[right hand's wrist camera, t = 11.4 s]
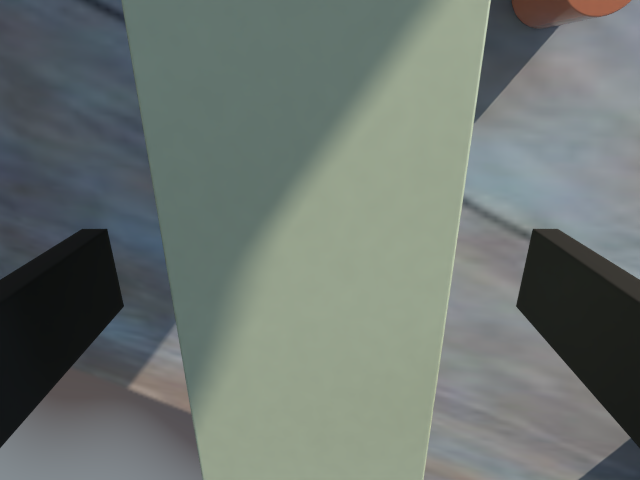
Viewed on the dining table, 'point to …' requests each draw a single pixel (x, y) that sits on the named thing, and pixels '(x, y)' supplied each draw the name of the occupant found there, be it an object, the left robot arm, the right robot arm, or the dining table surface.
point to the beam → (309, 219)
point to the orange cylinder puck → (563, 11)
